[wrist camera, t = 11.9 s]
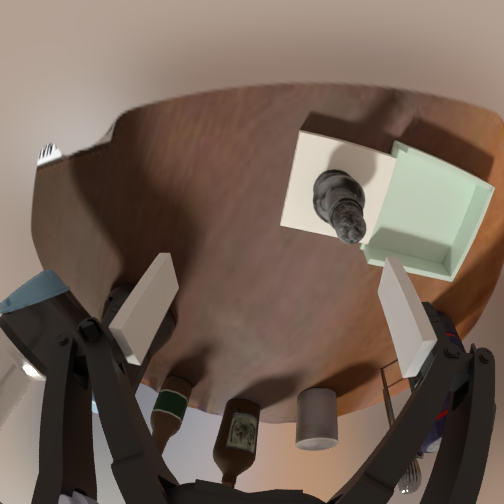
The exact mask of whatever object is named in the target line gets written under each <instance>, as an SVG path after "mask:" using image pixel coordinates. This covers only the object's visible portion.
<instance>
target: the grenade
mask: <svg viewBox="0 0 504 504" xmlns="http://www.w3.org/2000/svg"><path fill="white" fill-rule="evenodd" d="M437 314H438V317H439V318H440V322H441V323H442V325H443V327H444V329H445V331H446V334H447V336H448V338H449V341H450V342H452V343H455V344H456V345H457V346H458V347H459V348H460V349H461V352H464V353H466V351H465V349H464V346H463V344H462V342H461V340H460V338H459V336H458V333H457V331H456V329H455V327H454V325H453V323H452V321H451V318H449V317H448V316H447V315H445V314H444V313H441V312H438V313H437ZM475 352H476V347H475V345H474V343H473V344H471V349H470V354H474V353H475ZM421 377H422V373H421V370H419V372H418V374H417V375H416V376H414V377H408V379H409V384H410V388H411V392H413V391H414V389H415V385H416V384H417V383H418V381H419V380H420V378H421ZM450 394H451V391H449V393H448V395H447V397H446V399H445V402H444V404H443V406H442V408H441V410H440V412H439V414H438V416H437V419H436V421H435V422H434V424H433V426H432V428H431V430H430V432H429V434H428V436H427V437H426V439H425V441H424V443H423V445H422V446H421V449H422V452H424V453H432V452H438V450H439V446H440V443H441V439H442V435H443V430H444V426H445V422H446V417H447V412H448V406H449V401H450ZM495 413H496V404H495V401H494V414H493V424H492V431H493V425H494V419H495ZM491 435H492V432H491Z"/></svg>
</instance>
